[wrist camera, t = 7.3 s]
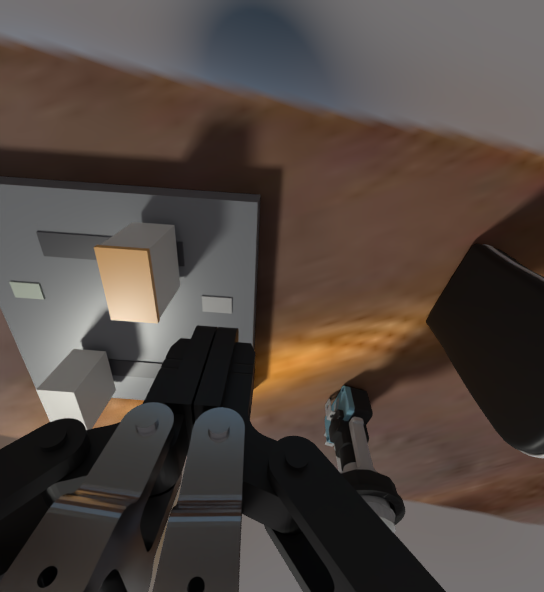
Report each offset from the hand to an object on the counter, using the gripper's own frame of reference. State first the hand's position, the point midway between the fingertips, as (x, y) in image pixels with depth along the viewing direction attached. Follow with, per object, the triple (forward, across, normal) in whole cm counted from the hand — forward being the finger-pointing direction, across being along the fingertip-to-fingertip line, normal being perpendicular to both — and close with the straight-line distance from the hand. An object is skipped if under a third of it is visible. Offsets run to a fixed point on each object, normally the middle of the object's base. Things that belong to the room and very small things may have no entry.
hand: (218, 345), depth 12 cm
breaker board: (+11, +8, +6) cm, 15 cm away
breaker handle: (+8, +5, 0) cm, 10 cm away
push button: (+11, -9, +15) cm, 21 cm away
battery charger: (+11, -16, +2) cm, 19 cm away
